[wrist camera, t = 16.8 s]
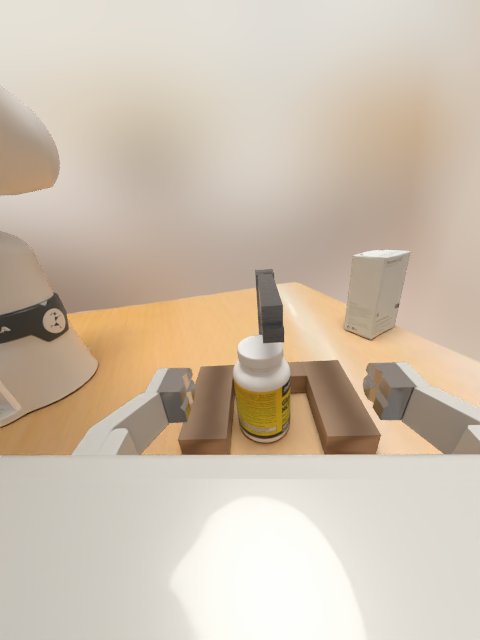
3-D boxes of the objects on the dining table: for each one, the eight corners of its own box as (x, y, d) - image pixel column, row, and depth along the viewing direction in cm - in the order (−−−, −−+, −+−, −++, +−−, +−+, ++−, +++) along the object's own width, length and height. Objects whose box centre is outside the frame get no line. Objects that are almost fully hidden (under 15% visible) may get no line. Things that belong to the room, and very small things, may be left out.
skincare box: (370, 341, 41) (386, 258, 35) (341, 329, 46) (350, 254, 40) (395, 326, 45) (414, 249, 39) (366, 316, 50) (378, 246, 43)
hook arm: (267, 458, 24) (258, 310, 16) (262, 382, 34) (255, 270, 27) (286, 458, 24) (286, 308, 16) (275, 381, 34) (272, 269, 27)
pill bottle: (293, 445, 25) (295, 363, 20) (237, 445, 26) (226, 365, 21) (287, 402, 30) (287, 329, 26) (241, 402, 31) (232, 332, 26)
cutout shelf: (183, 458, 25) (178, 439, 23) (203, 382, 35) (200, 366, 34) (375, 454, 23) (380, 435, 22) (335, 376, 34) (337, 360, 33)
